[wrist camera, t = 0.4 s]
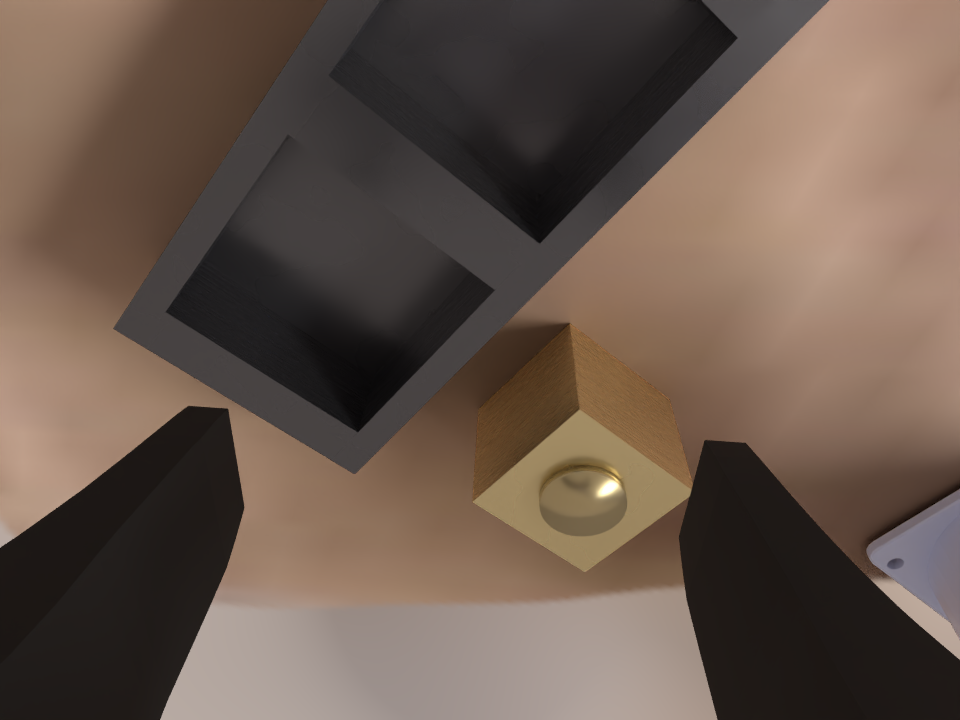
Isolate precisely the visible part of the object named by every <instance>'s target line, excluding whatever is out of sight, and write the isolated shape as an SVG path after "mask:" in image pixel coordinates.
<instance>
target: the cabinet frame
mask: <svg viewBox="0 0 960 720" xmlns="http://www.w3.org/2000/svg"><path fill="white" fill-rule="evenodd" d="M828 1H829V0H328V1H327V2H326V4H325V5H324V7H323V8H322V10H321V11H320V13H319V14H318V16H317V17H316V19H315V21H314V22H313V24H312V25H311V27H310V28H309V30H308V31H307V33H306V34H305V36H304V37H303V39H302V40H301V42H300V44H299V45H298V47H297V48H296V50H295V51H294V53H293V54H292V56H291V57H290V59H289V60H288V62H287V63H286V65H285V66H284V68H283V70H282V71H281V73H280V74H279V76H278V77H277V79H276V80H275V82H274V83H273V85H272V86H271V88H270V89H269V91H268V93H267V94H266V96H265V97H264V99H263V100H262V102H261V103H260V105H259V106H258V108H257V109H256V111H255V112H254V114H253V116H252V117H251V119H250V120H249V122H248V123H247V125H246V126H245V128H244V129H243V131H242V132H241V134H240V135H239V137H238V138H237V140H236V142H235V143H234V145H233V146H232V148H231V149H230V151H229V152H228V154H227V155H226V157H225V158H224V160H223V161H222V163H221V165H220V166H219V168H218V169H217V171H216V172H215V174H214V175H213V177H212V178H211V180H210V181H209V183H208V184H207V186H206V187H205V189H204V191H203V192H202V194H201V195H200V197H199V198H198V200H197V201H196V203H195V204H194V206H193V207H192V209H191V210H190V212H189V214H188V215H187V217H186V218H185V220H184V221H183V223H182V224H181V226H180V227H179V229H178V230H177V232H176V233H175V235H174V236H173V238H172V240H171V241H170V243H169V244H168V246H167V247H166V249H165V250H164V252H163V253H162V255H161V256H160V258H159V259H158V261H157V263H156V264H155V266H154V267H153V269H152V270H151V272H150V273H149V275H148V276H147V278H146V279H145V281H144V282H143V284H142V285H141V287H140V289H139V290H138V292H137V293H136V295H135V296H134V298H133V299H132V301H131V302H130V304H129V305H128V307H127V308H126V310H125V312H124V313H123V315H122V316H121V318H120V319H119V321H118V322H117V324H116V325H115V327H114V328H113V329H115V330H116V331H118V332H120V333H121V334H123V335H125V336H126V337H128V338H130V339H131V340H133V341H135V342H136V343H138V344H140V345H141V346H143V347H145V348H146V349H148V350H149V351H151V352H153V353H154V354H156V355H158V356H159V357H161V358H163V359H164V360H166V361H168V362H169V363H171V364H173V365H174V366H176V367H178V368H179V369H181V370H183V371H184V372H186V373H188V374H189V375H191V376H193V377H194V378H196V379H198V380H199V381H201V382H203V383H204V384H206V385H207V386H209V387H211V388H212V389H214V390H216V391H217V392H219V393H221V394H222V395H224V396H226V397H227V398H229V399H231V400H232V401H234V402H236V403H237V404H239V405H241V406H242V407H244V408H246V409H247V410H249V411H251V412H252V413H254V414H256V415H257V416H259V417H261V418H262V419H264V420H266V421H267V422H269V423H270V424H272V425H274V426H275V427H277V428H279V429H280V430H282V431H284V432H285V433H287V434H289V435H290V436H292V437H294V438H295V439H297V440H299V441H300V442H302V443H304V444H305V445H307V446H309V447H310V448H312V449H314V450H315V451H317V452H319V453H320V454H322V455H324V456H325V457H327V458H328V459H330V460H332V461H333V462H335V463H337V464H338V465H340V466H342V467H343V468H345V469H347V470H348V471H350V472H352V473H353V474H356V473H357V472H358V471H359V470H360V469H361V468H362V467H363V466H364V465H365V464H366V463H367V462H368V461H369V460H370V459H371V458H372V457H373V456H374V455H375V454H376V453H377V452H378V451H379V450H380V449H381V448H382V447H383V446H384V445H385V444H386V443H387V442H388V441H389V440H390V439H391V438H392V437H393V436H394V435H395V434H396V433H397V432H398V431H399V430H400V429H401V428H402V427H403V426H404V425H405V424H406V423H407V422H408V421H409V420H410V419H411V418H412V417H413V416H414V415H415V414H416V413H417V412H418V411H419V410H420V409H421V408H422V407H423V406H424V405H425V404H426V403H427V402H428V401H429V400H430V399H431V398H432V397H433V396H434V395H435V394H436V393H437V392H438V391H439V390H440V389H441V388H442V387H443V386H444V385H445V384H446V383H447V382H448V381H449V380H450V379H451V378H452V377H453V376H454V375H455V374H456V373H457V372H458V371H459V370H460V369H461V368H462V367H463V366H464V365H465V364H466V363H467V362H468V361H469V360H470V359H471V358H472V357H473V356H474V355H475V354H476V353H477V352H478V351H479V350H480V349H481V348H482V347H483V346H484V345H485V344H486V343H487V342H488V341H489V340H490V339H491V338H492V337H493V336H494V335H495V334H496V333H497V332H498V331H499V330H500V329H501V328H502V327H503V326H504V325H505V324H506V323H507V322H508V321H509V320H510V319H511V318H512V317H513V316H514V315H515V314H516V313H517V312H518V311H519V310H520V309H521V308H522V307H523V306H524V305H525V304H526V303H527V302H528V301H529V300H530V299H531V298H532V297H533V296H534V295H535V294H536V293H537V292H538V291H539V290H540V289H541V288H542V287H543V286H544V285H545V284H546V283H547V282H548V281H549V280H550V279H551V278H552V277H553V276H554V275H555V274H556V273H557V272H558V271H559V270H560V269H561V268H562V267H563V266H564V265H565V264H566V263H567V262H568V261H569V260H570V259H571V258H572V257H573V256H574V255H575V254H576V253H577V252H578V251H579V250H580V249H581V248H582V247H583V246H584V245H585V244H586V243H587V242H588V241H589V240H590V239H591V238H592V237H593V236H594V235H595V234H596V233H597V232H598V231H599V230H600V229H601V228H602V227H603V226H604V225H605V224H606V223H607V222H608V221H609V220H610V219H611V218H612V217H613V216H614V215H615V214H616V213H617V212H618V211H619V210H620V209H621V208H622V207H623V206H624V205H625V204H626V203H627V202H628V201H629V200H630V199H631V198H632V197H633V196H634V195H635V194H636V193H637V192H638V191H639V190H640V189H641V188H642V187H643V186H644V185H645V184H646V183H647V182H648V181H649V180H650V179H651V178H652V177H653V176H654V175H655V174H656V173H657V172H658V171H659V170H660V169H661V168H662V167H663V166H664V165H665V164H666V163H667V162H668V161H669V160H670V159H671V158H672V157H673V156H674V155H675V154H676V153H677V152H678V151H679V150H680V149H681V148H682V147H683V146H684V145H685V144H686V143H687V142H688V141H689V140H690V139H691V138H692V137H693V136H694V135H695V134H696V133H697V132H698V131H699V130H700V129H701V128H702V127H703V126H704V125H705V124H706V123H707V122H708V121H709V120H710V119H711V118H712V117H713V116H714V115H715V114H716V113H717V112H718V111H719V110H720V109H721V108H722V107H723V106H724V105H725V104H726V103H727V102H728V101H729V100H730V99H731V98H732V97H733V96H734V95H735V94H736V93H737V92H738V91H739V90H740V89H741V88H742V87H743V86H744V85H745V84H746V83H747V82H748V81H749V80H750V79H751V78H752V77H753V76H754V75H755V74H756V73H757V72H758V71H759V70H760V69H761V68H762V67H763V66H764V65H765V64H766V63H767V62H768V61H769V60H770V59H771V58H772V57H773V56H774V55H775V54H776V53H777V52H778V51H779V50H780V49H781V48H782V47H783V46H784V45H785V44H786V43H787V42H788V41H789V40H790V39H791V38H792V37H793V36H794V35H795V34H796V33H797V32H798V31H799V30H800V29H801V28H802V27H803V26H804V25H805V24H806V23H807V22H808V21H809V20H810V19H811V18H812V17H813V16H814V15H815V14H816V13H817V12H818V11H819V10H820V9H821V8H822V7H823V6H824V5H825V4H826V3H827V2H828Z"/></svg>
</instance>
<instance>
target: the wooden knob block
mask: <svg viewBox="0 0 960 720" xmlns="http://www.w3.org/2000/svg"><path fill="white" fill-rule="evenodd" d="M692 486H693V482H692V479H691V475H690V472H689V468H688V464H687V461H686V457H685V453H684V450H683V446H682V443H681V439H680V435H679V432H678V428H677V425H676V421H675V417H674V414H673V410H672V406H671V403H670V399H668V398H667V397H666V396H665V395H663V394H662V393H661V392H659V391H658V390H657V389H655V388H654V387H653V386H651V385H650V384H649V383H648V382H646V381H645V380H644V379H642V378H641V377H640V376H638V375H637V374H636V373H634V372H633V371H632V370H631V369H629V368H628V367H627V366H625V365H624V364H623V363H621V362H620V361H619V360H617V359H616V358H615V357H614V356H612V355H611V354H610V353H608V352H607V351H606V350H604V349H603V348H602V347H600V346H599V345H598V344H597V343H595V342H594V341H593V340H591V339H590V338H589V337H587V336H586V335H585V334H583V333H582V332H581V331H580V330H578V329H577V328H576V327H574V326H573V325H572V324H570V323H569V324H568V325H567V326H566V327H565V328H564V329H563V330H562V331H561V332H560V333H559V334H558V335H557V336H556V337H555V338H554V339H552V340H551V341H550V342H549V343H548V344H547V345H546V346H545V347H544V348H543V349H542V350H541V351H540V352H539V353H538V354H537V355H536V356H534V357H533V358H532V359H531V360H530V361H529V362H528V363H527V364H526V365H525V366H524V367H523V368H522V369H521V370H520V371H519V372H518V373H517V374H515V375H514V376H513V377H512V378H511V379H510V380H509V381H508V382H507V383H506V384H505V385H504V386H503V387H502V388H501V389H500V390H499V391H498V392H496V393H495V394H494V395H493V396H492V397H491V398H490V399H489V400H488V401H487V402H486V403H485V404H484V405H483V406H482V407H481V408H480V409H478V423H477V438H476V453H475V469H474V484H473V499H472V502H473V503H474V504H476V505H477V506H479V507H481V508H482V509H484V510H485V511H487V512H489V513H490V514H492V515H493V516H495V517H497V518H498V519H500V520H502V521H503V522H505V523H506V524H508V525H510V526H511V527H513V528H514V529H516V530H518V531H519V532H521V533H522V534H524V535H526V536H527V537H529V538H530V539H532V540H534V541H535V542H537V543H538V544H540V545H542V546H543V547H545V548H546V549H548V550H550V551H551V552H553V553H554V554H556V555H558V556H559V557H561V558H562V559H564V560H566V561H567V562H569V563H570V564H572V565H574V566H575V567H577V568H578V569H580V570H582V571H583V572H586V571H588V570H589V569H590V568H592V567H593V566H595V565H596V564H597V563H599V562H600V561H601V560H603V559H604V558H606V557H607V556H608V555H610V554H611V553H612V552H614V551H615V550H617V549H618V548H619V547H621V546H622V545H624V544H625V543H626V542H628V541H629V540H630V539H632V538H633V537H635V536H636V535H637V534H639V533H640V532H641V531H643V530H644V529H646V528H647V527H648V526H650V525H651V524H653V523H654V522H655V521H657V520H658V519H659V518H661V517H662V516H664V515H665V514H666V513H668V512H669V511H670V510H672V509H673V508H675V507H676V506H677V505H679V504H680V503H681V502H683V501H684V500H686V499H687V498H688V497H690V494H691V490H692Z"/></svg>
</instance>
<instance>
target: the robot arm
mask: <svg viewBox="0 0 960 720" xmlns="http://www.w3.org/2000/svg"><path fill="white" fill-rule="evenodd" d="M243 511H244V502H243V496H242V490H241V484H240V478H239V472H238V466H237V460H236V454H235V448H234V442H233V436H232V430H231V424H230V418H229V412H228V409H225V408H210V407H195V406H188V407H186V408H185V409H184V410H182V411H181V412H180V413H178V414H177V415H176V416H175V417H173V418H172V419H171V420H169V421H168V422H167V423H166V424H164V425H163V426H162V427H161V428H160V429H158V430H157V431H156V432H155V433H153V434H152V435H151V436H150V437H148V438H147V439H146V440H145V441H144V442H142V443H141V444H140V445H139V446H137V447H136V448H135V449H134V450H132V451H131V452H130V453H129V454H127V455H126V456H125V457H124V458H122V459H121V460H120V461H119V462H117V463H116V464H115V465H113V466H112V467H111V468H110V469H108V470H107V471H106V472H104V473H103V474H102V475H101V476H99V477H98V478H97V479H96V480H94V481H93V482H92V483H90V484H89V485H88V486H87V487H85V488H84V489H83V490H81V491H80V492H79V493H77V494H76V495H75V496H73V497H72V498H70V499H69V500H68V501H66V502H65V503H63V504H62V505H61V506H59V507H58V508H56V509H55V510H54V511H52V512H51V513H49V514H48V515H47V516H45V517H44V518H42V519H41V520H40V521H38V522H37V523H35V524H34V525H33V526H31V527H30V528H28V529H27V530H26V531H24V532H23V533H21V534H20V535H19V536H17V537H16V538H14V539H13V540H11V541H10V542H8V543H7V544H5V545H4V546H2V547H1V548H0V720H160V718H161V716H162V713H163V711H164V708H165V706H166V703H167V701H168V698H169V696H170V694H171V692H172V689H173V687H174V685H175V683H176V680H177V678H178V676H179V674H180V672H181V669H182V667H183V665H184V663H185V661H186V658H187V656H188V654H189V652H190V649H191V647H192V645H193V643H194V641H195V638H196V636H197V634H198V631H199V629H200V627H201V625H202V623H203V620H204V618H205V616H206V614H207V611H208V609H209V607H210V605H211V602H212V600H213V598H214V596H215V593H216V591H217V589H218V587H219V584H220V582H221V580H222V577H223V575H224V573H225V570H226V568H227V565H228V562H229V559H230V555H231V552H232V549H233V546H234V543H235V539H236V536H237V532H238V529H239V525H240V522H241V518H242V514H243ZM679 542H680V551H681V560H682V569H683V576H684V583H685V591H686V598H687V602H688V606H689V610H690V614H691V619H692V622H693V627H694V631H695V634H696V638H697V642H698V646H699V650H700V654H701V658H702V662H703V666H704V669H705V673H706V677H707V681H708V685H709V688H710V692H711V696H712V700H713V704H714V708H715V711H716V715H717V719H718V720H960V660H959V659H958V658H957V657H956V656H954V655H953V654H952V653H951V652H950V651H949V650H947V649H946V648H945V647H944V646H942V645H941V644H940V643H939V642H938V641H937V640H936V639H935V638H933V637H932V636H931V635H930V634H929V633H927V632H926V631H925V630H924V629H923V628H922V627H920V626H919V625H918V624H917V623H916V622H915V621H914V620H913V619H911V618H910V617H909V616H908V615H907V614H906V613H905V612H904V611H902V610H901V609H900V608H899V607H898V606H897V605H896V604H895V603H894V602H893V601H892V600H891V599H890V598H889V597H888V596H887V595H886V594H885V593H884V592H883V591H881V590H880V589H879V588H878V587H877V586H876V585H875V584H874V583H873V582H872V581H871V580H870V579H869V578H868V577H867V576H866V575H865V574H864V573H863V572H862V571H861V570H860V569H859V568H858V567H857V566H856V565H855V564H854V563H853V562H852V561H851V560H850V559H849V558H848V557H847V556H846V555H845V554H844V553H843V552H842V551H841V550H840V548H839V547H838V546H837V545H836V544H835V543H834V542H833V541H832V540H831V539H830V538H829V537H828V536H827V535H826V534H825V532H824V531H823V530H822V529H821V528H820V527H819V526H818V525H817V524H816V523H815V522H814V520H813V519H812V518H811V517H810V516H809V515H808V514H807V513H806V512H805V510H804V509H803V508H802V507H801V506H800V505H799V504H798V502H797V501H796V500H795V499H794V498H793V497H792V496H791V494H790V493H789V492H788V491H787V490H786V489H785V488H784V486H783V485H782V484H781V483H780V482H779V481H778V480H777V478H776V477H775V476H774V475H773V474H772V473H771V471H770V470H769V469H768V468H767V467H766V466H765V464H764V463H763V462H762V461H761V460H760V459H759V457H758V456H757V455H756V454H755V453H754V452H753V451H752V449H751V448H750V447H749V446H748V445H747V444H746V443H739V442H724V441H708V440H705V441H704V445H703V449H702V453H701V456H700V460H699V464H698V468H697V471H696V475H695V479H694V482H693V486H692V490H691V494H690V497H689V501H688V505H687V509H686V512H685V516H684V520H683V524H682V527H681V531H680V535H679ZM866 551H867V555H868V557H869V559H870V561H871V562H872V563H873V564H874V565H875V566H877V567H878V568H879V569H880V570H882V571H883V572H884V573H886V574H887V575H888V576H890V577H891V578H892V579H894V580H895V581H896V582H898V583H899V584H900V585H902V586H903V587H904V588H905V589H907V590H908V591H909V592H911V593H912V594H913V595H915V596H916V597H917V598H919V599H920V600H922V601H923V602H924V603H925V604H927V605H928V606H929V607H931V608H932V609H933V610H934V611H936V612H937V613H938V614H940V615H941V616H942V617H944V618H945V619H947V620H948V621H949V622H950V623H951V625H952V627H953V628H954V630H955V632H956V634H957V636H958V637H959V639H960V489H959V490H957V491H955V492H954V493H952V494H950V495H949V496H947V497H945V498H944V499H942V500H940V501H939V502H937V503H935V504H934V505H932V506H931V507H929V508H927V509H926V510H924V511H922V512H921V513H919V514H917V515H916V516H914V517H912V518H911V519H909V520H907V521H906V522H904V523H902V524H901V525H899V526H898V527H896V528H894V529H893V530H891V531H889V532H888V533H886V534H884V535H883V536H881V537H879V538H878V539H876V540H874V541H873V542H872V543H870V544H869V545H868V547H867V549H866Z"/></svg>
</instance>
